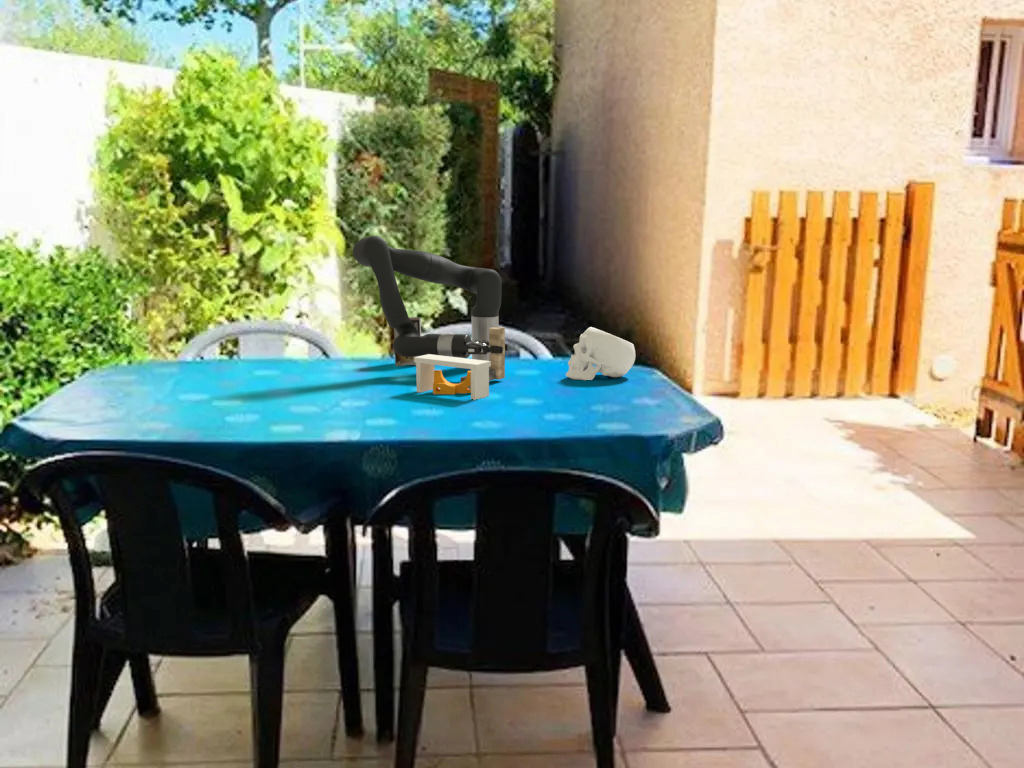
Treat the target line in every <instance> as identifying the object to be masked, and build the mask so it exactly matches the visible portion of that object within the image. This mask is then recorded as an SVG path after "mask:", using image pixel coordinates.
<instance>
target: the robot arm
mask: <svg viewBox="0 0 1024 768" xmlns="http://www.w3.org/2000/svg"><path fill="white" fill-rule="evenodd" d="M352 255H353V257H354V259H355V260H356V262H357V263H358V264H360V265H361V266H364V267H369V268H371V270H372V271H373V273H374V275H375V278H376V282H377V285H378V293H379V301H380V305H381V309H382V312H383V315H384V318H385V320H386V322H387V324H388V326H389V327H390V328H391V329H394V328H395V329H396V330H397V332H398V334H399V336H398V337H396V339H395V338H394V340H393V343H392V348H393V351H394V353H395V352H396V353H397V354H398V355H401V356H404V357H414V356H422V355H427V354H432V355H441V356H450V357H458V358H467V359H469V357H470V356H471V359H476V360H485V361H489V354H490V353H500V354H502V353H503V347H502V346H491V345H489V328H492V327H500V325H499V324H500V323H499V319H500V318H499V315H500V314H499V311H500V308H501V305H502V287H503V286H502V278H501V276H500V274H499V273H498V272H497V271H496V270H495V269H492V268H485V267H474V266H467V265H462V264H459V263H456V262H454V261H452V260H450V259H448V258H445V257H443V256H441V255H437V254H434V253H432V252H428V251H424V250H416V249H415V250H414V249H403V248H395V247H391V246H388V243H387V241H386V240H385V239H384V238H382V237H380V236H378V235H372V236H367V237H363V238H361V239H359V240H358V241H356V243H354V246H353V249H352ZM395 272H396V273H398V274H402V275H403V276H407V277H410V278H415V279H416V280H421V281H425V282H428V283H433V284H436V285H437V284H439V285H446V286H447V285H449V286H452V287H453V286H454V287H457V288H460V289H463V290H465V291H468V292H470V293H473V294H475V295H476V302H475V304H474V306H473V307H472V308H471V336H470V335H469V334H459V333H426V334H423V335H421V336H420V335H419V332H418V330H417V329H416V327H415V326H414V324H413V322H412V321H411V320H410V318H409V317H410V316H409V313H408V311H407V310H406V305H405V303H404V301H403V298H402V296H401V293H400V290H399V287H398V283H397V279H396V275H395ZM508 350H509V344H508V343H505V352H507V351H508Z"/></svg>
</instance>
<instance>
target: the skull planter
mask: <svg viewBox="0 0 1024 768" xmlns="http://www.w3.org/2000/svg"><path fill="white" fill-rule="evenodd" d="M572 348H573V350H574V354H571V355H570V357H571V358H570V359H569V360H568V362H567V365H568V371H567V372H566V373H565V376H566V377H567V378H569V379H571V380H580V381H586V380H591V381H592V380H593V379H594V378H595V376H596V375H597V373H600V374H602V376H604V377H605V376H608V377H611V378H618V377H619V378H622V377H623V376H624V375H625V376H626V374H628V372H629V371H630V369H631V368H632V367H633V366H634V364H635V361H636V349H635V345H634V344H633V343H632V342H630V341H628V340H625V339H623V338H620V337H618V336H616V335H615V334H614V335H613V334H611V333H608V332H606V331H604V330H601V329H598V328H596V327H592V326H590V327H588V328H587V329H586V330H584V332H583V333H581V334H580V336H579V342H577V343H575V344H573V347H572Z"/></svg>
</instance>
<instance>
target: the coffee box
mask: <svg viewBox="0 0 1024 768" xmlns="http://www.w3.org/2000/svg"><path fill="white" fill-rule="evenodd" d="M408 317H409V318H410V320H411V321H412V322H413V324H414V326H415V327H416V329H417V330H418V332H419V335H420V336H422V324H421V323H422V321H421V319H422V317H419V316H418V317H417V316H408ZM393 333H394V340H395V339H396V337H398V336H399V334H398V332H397V330H396V329H395V328H393ZM414 357H418V356H414ZM414 357H404V356H401V355H398V354H397V353H396V352H395V351H394V358H395V359H394V363H395V365H396V366H395V365H394V366H395V367H403V366H404V367H406V366H405V365H415V366H416V362H414Z"/></svg>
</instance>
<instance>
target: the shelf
mask: <svg viewBox="0 0 1024 768" xmlns="http://www.w3.org/2000/svg"><path fill="white" fill-rule="evenodd" d="M414 362H416V365H415V367H416V369H415V371H416V372H415V375H416V393H424V392H428V391H431V390H432V391H433V383H434V371H435V370H436V368H435V366H443V367H449V368H458V369H466V370H467V369H468V370H470V371H471V387H470V389H471V394H470V400H471V399H473V400H472V401H476V399H478V400H480V398H481V399H484V398H487V396H488V397H490V381H489V367H490V366H491V361H485V360H476V359H472V358H458V357H450V356H441V355H432V354H427V355H422V356H418V357H414Z"/></svg>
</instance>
